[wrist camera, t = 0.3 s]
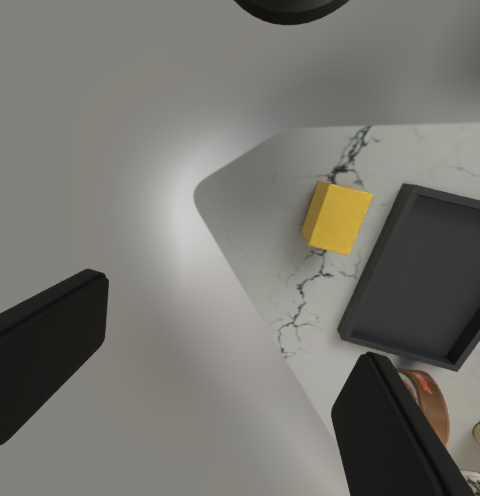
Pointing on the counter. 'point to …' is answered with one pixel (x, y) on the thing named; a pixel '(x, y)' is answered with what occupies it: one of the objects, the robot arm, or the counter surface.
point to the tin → (428, 400)
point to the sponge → (335, 217)
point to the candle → (477, 433)
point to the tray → (421, 281)
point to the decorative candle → (472, 480)
